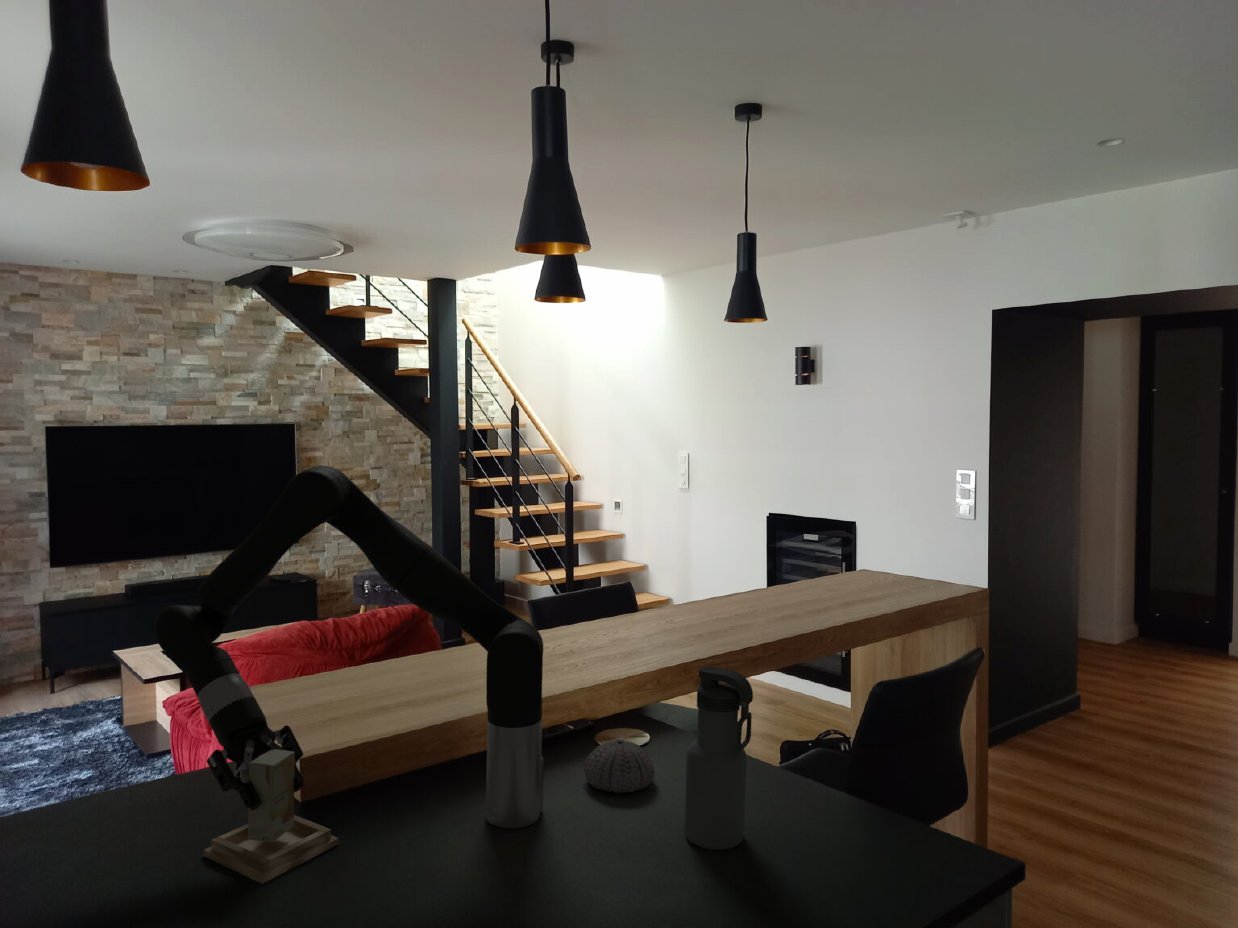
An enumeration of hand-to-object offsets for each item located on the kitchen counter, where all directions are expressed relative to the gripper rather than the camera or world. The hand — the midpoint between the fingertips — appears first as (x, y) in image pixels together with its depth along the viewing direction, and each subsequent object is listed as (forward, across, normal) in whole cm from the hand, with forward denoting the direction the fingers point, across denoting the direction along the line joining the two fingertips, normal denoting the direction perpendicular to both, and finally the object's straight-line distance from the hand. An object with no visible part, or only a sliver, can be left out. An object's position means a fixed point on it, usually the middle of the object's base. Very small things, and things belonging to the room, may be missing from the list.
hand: (278, 797), depth 136 cm
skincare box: (+3, 0, +6) cm, 6 cm away
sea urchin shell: (+28, +52, -15) cm, 61 cm away
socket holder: (+5, 0, +7) cm, 9 cm away
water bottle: (+45, +43, -32) cm, 70 cm away
